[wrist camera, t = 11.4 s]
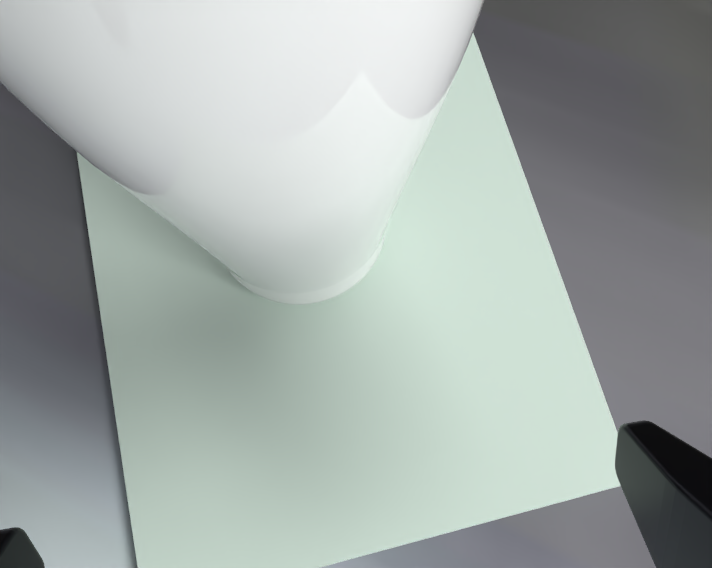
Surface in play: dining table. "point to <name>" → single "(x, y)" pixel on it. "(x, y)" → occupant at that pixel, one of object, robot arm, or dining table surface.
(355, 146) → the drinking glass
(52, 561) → the dining table surface
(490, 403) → the pad
